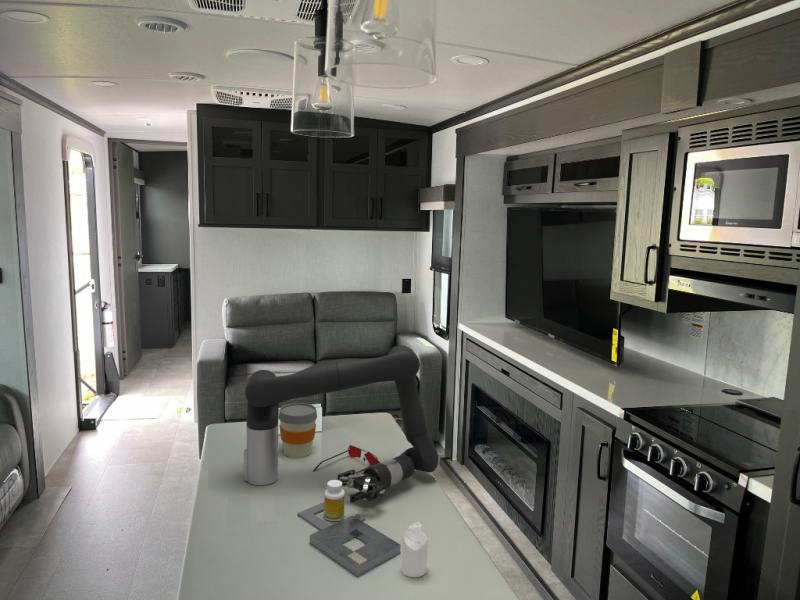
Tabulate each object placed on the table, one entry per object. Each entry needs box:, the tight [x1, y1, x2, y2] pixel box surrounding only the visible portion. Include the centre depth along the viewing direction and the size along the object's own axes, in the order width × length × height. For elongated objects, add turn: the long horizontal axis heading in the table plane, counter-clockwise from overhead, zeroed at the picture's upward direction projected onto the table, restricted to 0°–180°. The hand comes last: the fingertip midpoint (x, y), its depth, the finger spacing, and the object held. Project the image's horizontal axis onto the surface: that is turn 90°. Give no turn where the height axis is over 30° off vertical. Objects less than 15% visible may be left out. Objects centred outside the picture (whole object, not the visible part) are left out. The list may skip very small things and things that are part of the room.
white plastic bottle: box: [400, 521, 429, 578], centre depth 140 cm, size 6×12×6 cm
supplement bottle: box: [323, 479, 346, 522], centre depth 162 cm, size 5×5×10 cm
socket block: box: [309, 515, 402, 578], centre depth 149 cm, size 18×14×2 cm
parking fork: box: [296, 501, 366, 531], centre depth 162 cm, size 12×14×1 cm
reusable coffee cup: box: [278, 402, 318, 459], centre depth 201 cm, size 13×13×15 cm
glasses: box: [312, 444, 381, 483], centre depth 190 cm, size 14×16×5 cm
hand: (340, 493), depth 164 cm, fingers open, 8 cm apart
